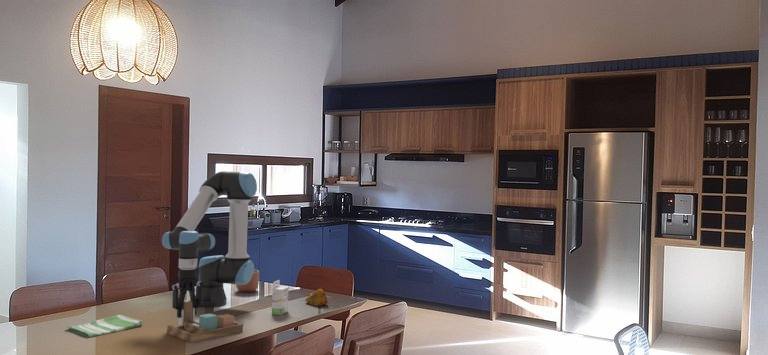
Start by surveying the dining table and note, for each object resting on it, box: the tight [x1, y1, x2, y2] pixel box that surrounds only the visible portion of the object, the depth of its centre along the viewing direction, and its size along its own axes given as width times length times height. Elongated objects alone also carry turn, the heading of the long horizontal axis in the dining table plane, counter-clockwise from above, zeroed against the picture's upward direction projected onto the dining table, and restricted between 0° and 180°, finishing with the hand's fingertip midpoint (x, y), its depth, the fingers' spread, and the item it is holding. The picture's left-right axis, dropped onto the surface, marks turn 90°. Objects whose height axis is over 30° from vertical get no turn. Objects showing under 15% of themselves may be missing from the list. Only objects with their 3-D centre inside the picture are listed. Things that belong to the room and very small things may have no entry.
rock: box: [305, 288, 328, 307], centre depth 292 cm, size 11×8×10 cm
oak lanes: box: [166, 321, 244, 343], centre depth 235 cm, size 18×23×3 cm
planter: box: [235, 269, 260, 293], centre depth 318 cm, size 12×12×11 cm
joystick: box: [181, 299, 218, 330], centre depth 239 cm, size 21×5×10 cm, turn 49°
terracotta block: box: [217, 313, 235, 327], centre depth 238 cm, size 5×5×6 cm
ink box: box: [271, 279, 290, 316], centre depth 271 cm, size 9×5×15 cm, turn 168°
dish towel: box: [66, 314, 144, 339], centre depth 238 cm, size 18×23×3 cm
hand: (186, 324), depth 244 cm, fingers closed on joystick, 4 cm apart
